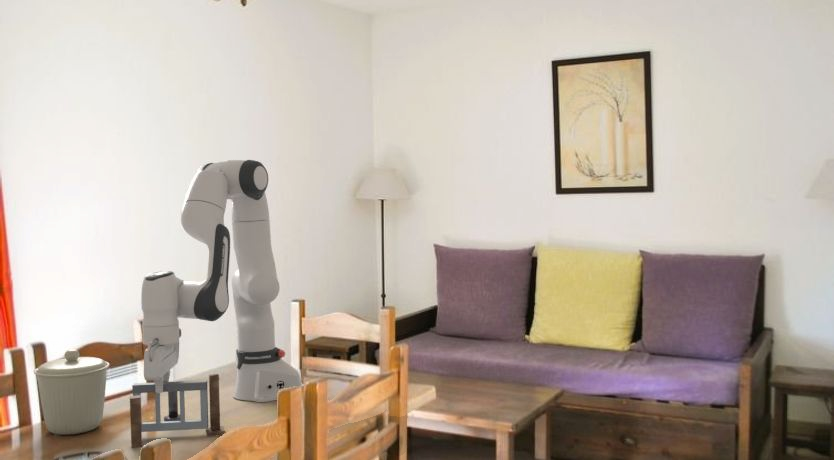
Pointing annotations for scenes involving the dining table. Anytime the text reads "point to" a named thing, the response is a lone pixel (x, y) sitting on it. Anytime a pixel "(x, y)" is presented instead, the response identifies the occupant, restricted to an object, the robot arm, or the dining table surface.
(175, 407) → the stop post
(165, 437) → the dining table surface
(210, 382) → the gate frame
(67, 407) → the canister
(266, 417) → the dining table surface
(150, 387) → the gate
